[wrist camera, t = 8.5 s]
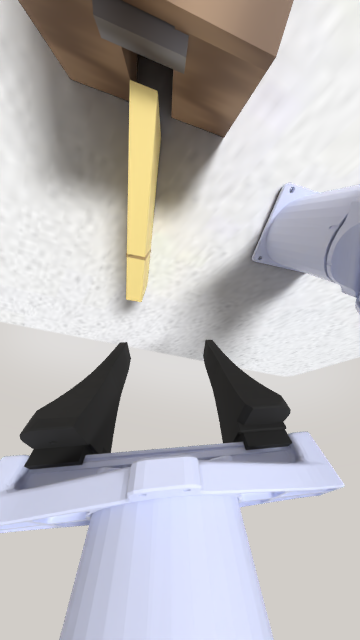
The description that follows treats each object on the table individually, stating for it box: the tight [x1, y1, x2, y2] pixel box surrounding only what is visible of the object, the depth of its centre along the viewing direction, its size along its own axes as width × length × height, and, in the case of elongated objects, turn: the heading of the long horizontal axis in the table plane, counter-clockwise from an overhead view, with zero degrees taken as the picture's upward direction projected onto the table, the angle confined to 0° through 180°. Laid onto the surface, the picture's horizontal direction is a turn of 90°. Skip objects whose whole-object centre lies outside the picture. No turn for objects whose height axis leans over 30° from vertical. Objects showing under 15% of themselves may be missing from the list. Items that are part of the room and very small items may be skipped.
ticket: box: [126, 80, 161, 302], centre depth 14 cm, size 2×14×6 cm, turn 168°
